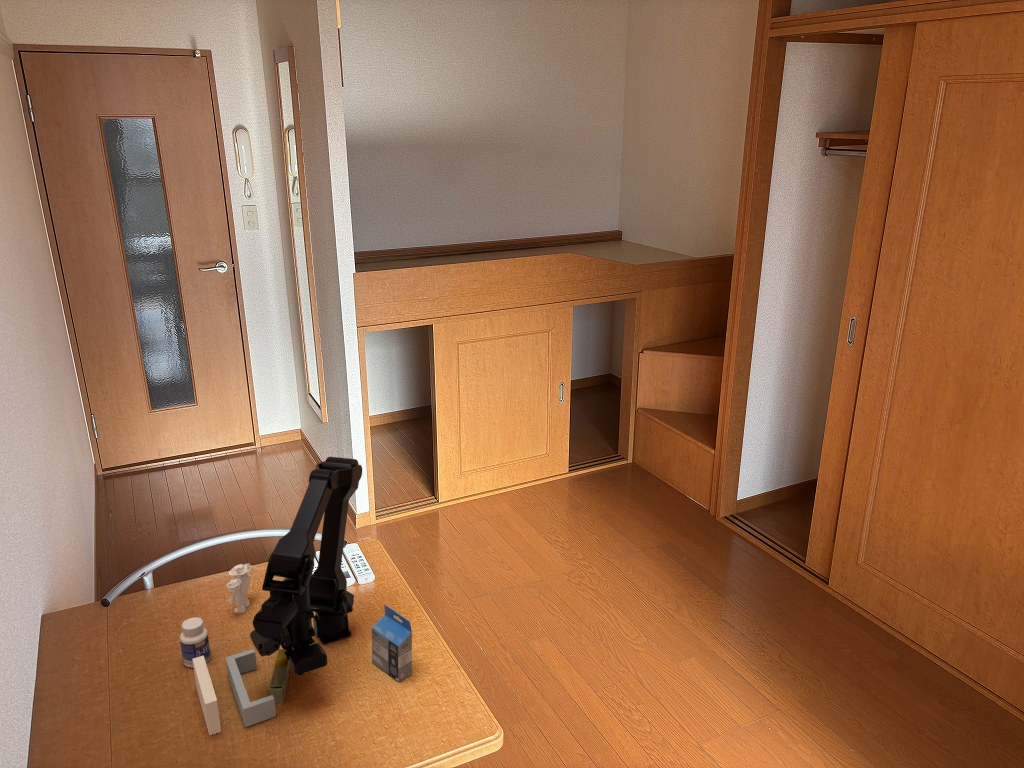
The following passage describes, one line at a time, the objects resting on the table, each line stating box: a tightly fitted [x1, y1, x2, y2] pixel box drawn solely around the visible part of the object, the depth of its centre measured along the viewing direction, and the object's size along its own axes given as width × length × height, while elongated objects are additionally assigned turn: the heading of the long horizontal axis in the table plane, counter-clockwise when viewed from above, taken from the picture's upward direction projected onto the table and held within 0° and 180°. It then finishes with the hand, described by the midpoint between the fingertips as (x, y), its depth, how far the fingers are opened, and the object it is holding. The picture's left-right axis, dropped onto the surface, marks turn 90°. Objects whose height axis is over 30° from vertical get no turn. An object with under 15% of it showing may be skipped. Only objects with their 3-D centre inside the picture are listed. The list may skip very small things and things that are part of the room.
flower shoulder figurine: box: [225, 562, 254, 614], centre depth 170 cm, size 9×4×12 cm, turn 173°
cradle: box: [225, 648, 277, 728], centre depth 144 cm, size 6×16×4 cm, turn 31°
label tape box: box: [371, 604, 413, 682], centre depth 151 cm, size 9×4×12 cm, turn 47°
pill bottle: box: [179, 616, 211, 669], centre depth 153 cm, size 5×5×9 cm
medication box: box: [268, 648, 292, 706], centre depth 148 cm, size 12×3×4 cm, turn 8°
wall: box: [193, 656, 222, 737], centre depth 140 cm, size 2×14×7 cm, turn 30°
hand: (300, 674), depth 149 cm, fingers closed
